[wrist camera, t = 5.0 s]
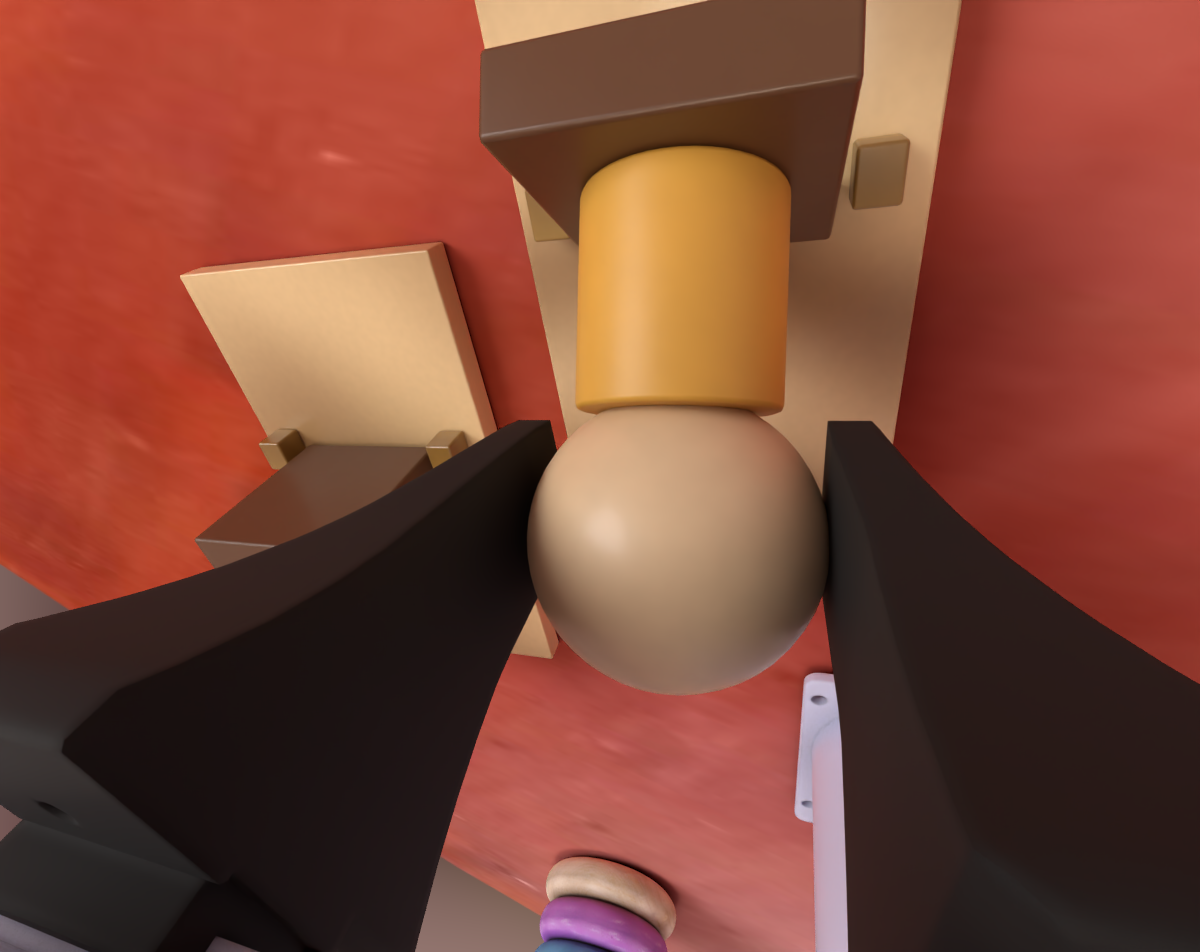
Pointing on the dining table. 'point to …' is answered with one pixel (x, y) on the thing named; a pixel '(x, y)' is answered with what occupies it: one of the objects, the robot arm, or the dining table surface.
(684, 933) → the dining table surface
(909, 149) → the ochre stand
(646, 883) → the stacking toy
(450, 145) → the dining table surface
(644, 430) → the ochre toy
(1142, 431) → the dining table surface
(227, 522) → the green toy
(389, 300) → the thin cream rectangular board
